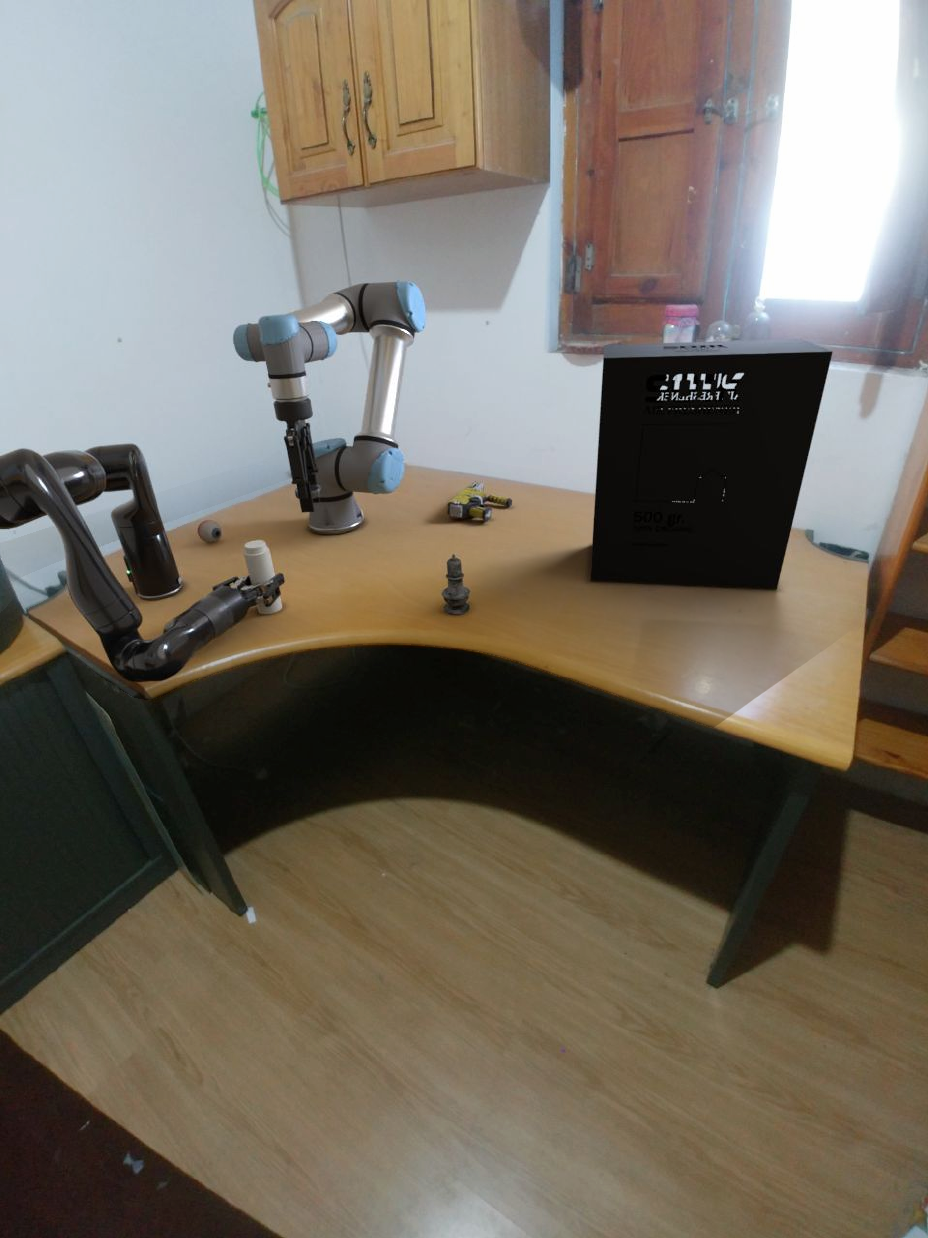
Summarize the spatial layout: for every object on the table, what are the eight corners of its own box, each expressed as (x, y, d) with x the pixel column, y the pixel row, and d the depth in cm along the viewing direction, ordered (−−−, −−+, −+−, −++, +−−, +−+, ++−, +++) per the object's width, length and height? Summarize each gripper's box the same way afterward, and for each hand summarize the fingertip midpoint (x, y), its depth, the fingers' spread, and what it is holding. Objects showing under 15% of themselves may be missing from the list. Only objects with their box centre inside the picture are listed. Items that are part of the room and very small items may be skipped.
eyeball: (211, 547, 159) (205, 526, 156) (196, 543, 162) (190, 522, 159) (229, 539, 163) (224, 518, 160) (214, 536, 166) (209, 515, 164)
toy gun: (520, 486, 181) (473, 479, 185) (498, 510, 161) (445, 501, 165) (519, 501, 183) (472, 494, 187) (496, 526, 163) (445, 518, 167)
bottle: (253, 613, 127) (237, 548, 119) (265, 602, 131) (250, 538, 123) (275, 615, 126) (259, 549, 118) (286, 603, 130) (271, 539, 122)
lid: (324, 490, 137) (323, 483, 136) (319, 498, 132) (318, 491, 131) (298, 492, 137) (297, 485, 136) (293, 500, 132) (292, 493, 131)
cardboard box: (756, 549, 141) (800, 338, 118) (776, 589, 124) (832, 351, 101) (592, 544, 148) (604, 344, 126) (590, 580, 131) (603, 357, 109)
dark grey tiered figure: (468, 615, 121) (465, 561, 115) (439, 614, 122) (435, 559, 116) (473, 601, 126) (471, 548, 120) (446, 600, 127) (442, 547, 121)
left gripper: (242, 601, 109) (296, 562, 123) (180, 591, 114) (239, 555, 128) (251, 636, 113) (303, 595, 127) (191, 625, 118) (248, 587, 131)
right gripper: (284, 392, 132) (303, 494, 144) (260, 408, 116) (284, 522, 127) (318, 390, 132) (334, 493, 143) (299, 406, 116) (319, 520, 127)
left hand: (271, 575), depth 127 cm, fingers closed on bottle, 5 cm apart
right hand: (311, 506), depth 135 cm, fingers closed on lid, 6 cm apart
